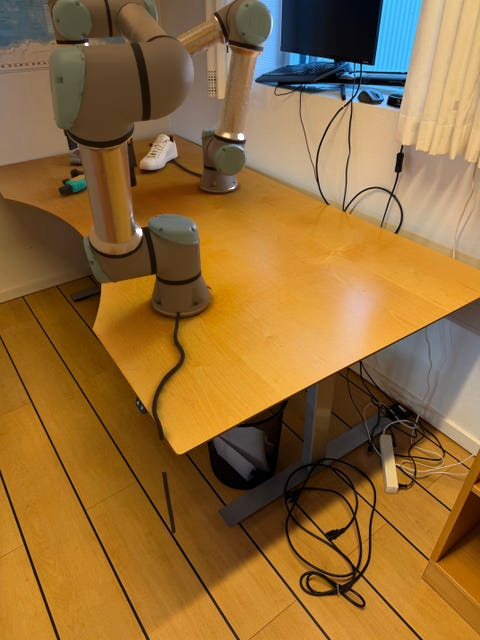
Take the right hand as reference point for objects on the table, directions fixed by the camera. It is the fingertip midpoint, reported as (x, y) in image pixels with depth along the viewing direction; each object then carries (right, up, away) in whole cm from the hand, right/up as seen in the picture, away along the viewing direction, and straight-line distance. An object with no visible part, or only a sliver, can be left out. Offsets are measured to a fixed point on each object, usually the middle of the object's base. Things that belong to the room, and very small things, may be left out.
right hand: (126, 183), depth 168 cm
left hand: (+1, -3, -41) cm, 41 cm away
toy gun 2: (-27, +6, +27) cm, 39 cm away
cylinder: (0, 0, 0) cm, 0 cm away
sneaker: (+3, +23, +49) cm, 54 cm away
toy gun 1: (-30, +25, +53) cm, 66 cm away
